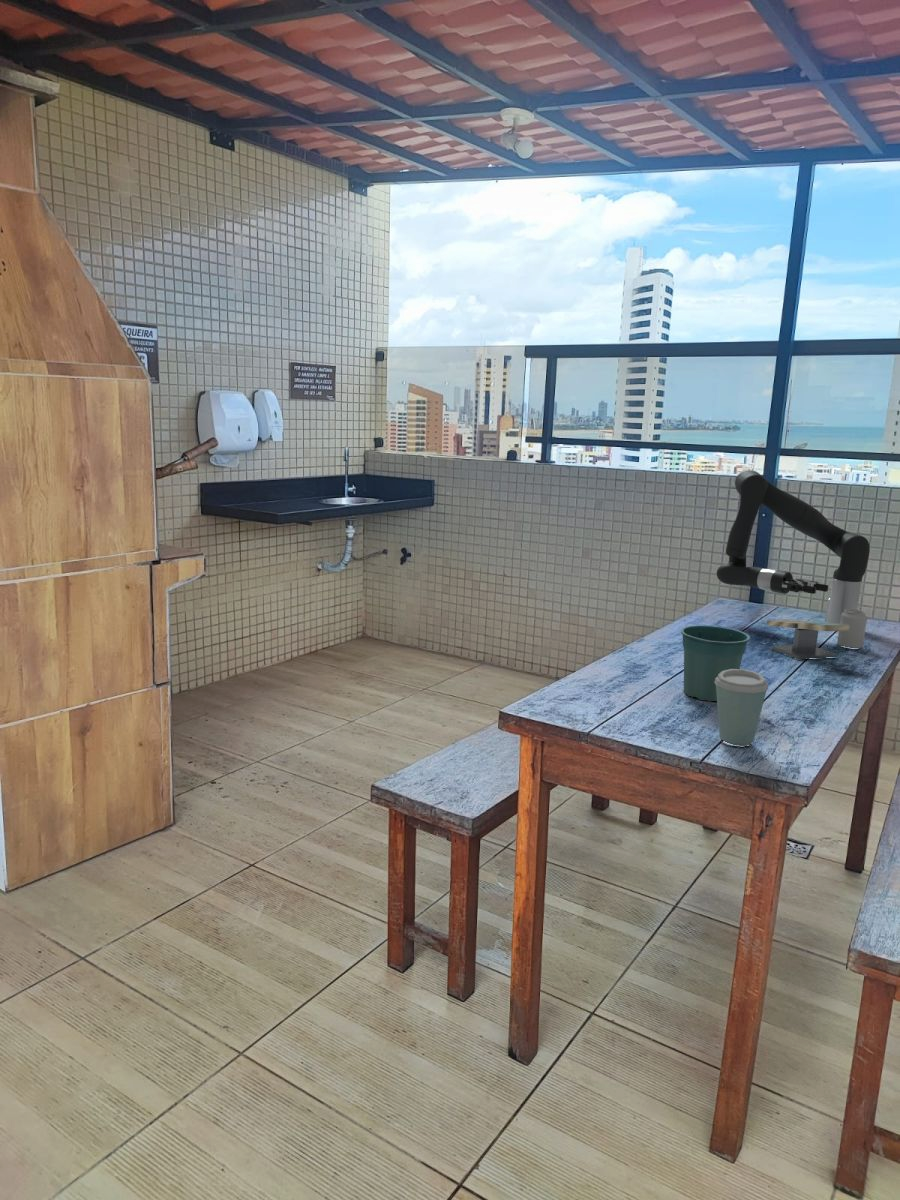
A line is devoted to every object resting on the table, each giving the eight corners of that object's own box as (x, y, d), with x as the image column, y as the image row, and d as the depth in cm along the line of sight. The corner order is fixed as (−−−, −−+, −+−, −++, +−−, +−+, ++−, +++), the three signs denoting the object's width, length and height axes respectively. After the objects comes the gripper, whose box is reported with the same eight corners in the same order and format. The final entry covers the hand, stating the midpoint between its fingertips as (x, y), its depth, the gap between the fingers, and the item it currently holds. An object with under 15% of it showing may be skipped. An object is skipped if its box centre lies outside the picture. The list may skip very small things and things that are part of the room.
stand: (771, 649, 260) (774, 625, 258) (808, 648, 264) (811, 623, 262) (797, 660, 249) (801, 634, 247) (836, 658, 253) (840, 633, 251)
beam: (764, 625, 266) (764, 619, 266) (789, 624, 269) (789, 619, 269) (824, 631, 241) (824, 625, 241) (851, 630, 244) (851, 624, 244)
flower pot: (729, 710, 200) (737, 645, 196) (664, 695, 209) (670, 632, 206) (751, 695, 213) (759, 633, 209) (689, 681, 222) (695, 622, 219)
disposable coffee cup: (760, 755, 172) (769, 685, 169) (705, 746, 176) (713, 677, 173) (761, 738, 182) (770, 672, 179) (710, 730, 185) (717, 665, 182)
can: (866, 651, 264) (872, 613, 262) (842, 649, 264) (848, 612, 262) (855, 644, 271) (861, 608, 269) (832, 643, 271) (838, 607, 269)
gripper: (765, 571, 279) (813, 579, 267) (786, 568, 288) (833, 576, 276) (762, 593, 280) (809, 602, 268) (783, 590, 290) (829, 599, 278)
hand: (821, 589), depth 272 cm, fingers open, 8 cm apart
